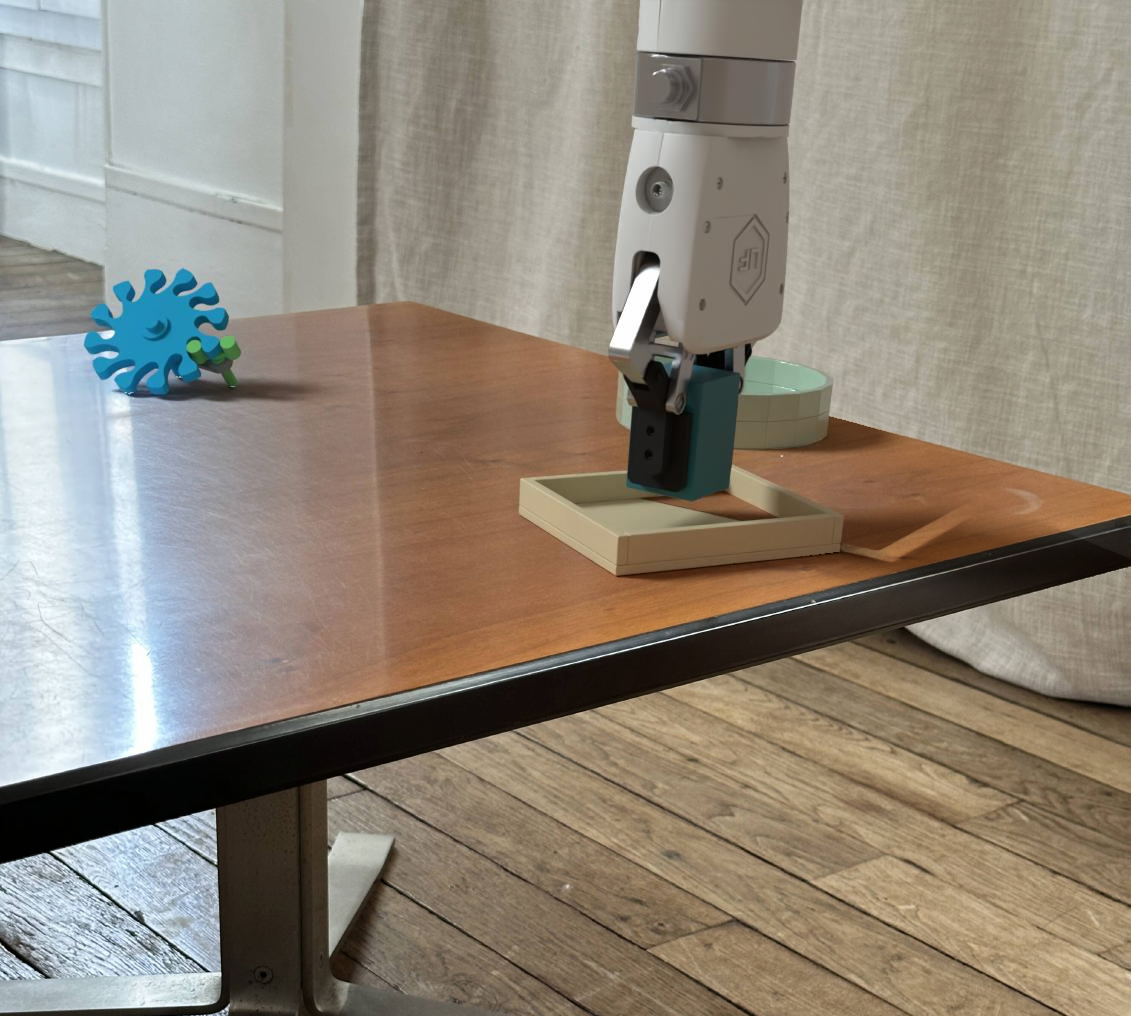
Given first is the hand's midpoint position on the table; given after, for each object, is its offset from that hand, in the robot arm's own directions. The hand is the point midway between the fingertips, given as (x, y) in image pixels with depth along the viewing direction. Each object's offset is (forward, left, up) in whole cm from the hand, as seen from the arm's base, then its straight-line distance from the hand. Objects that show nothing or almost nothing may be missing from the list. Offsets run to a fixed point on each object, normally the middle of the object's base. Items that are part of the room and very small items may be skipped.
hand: (679, 474), depth 83 cm
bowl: (-15, -20, -3) cm, 25 cm away
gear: (+17, -41, -3) cm, 45 cm away
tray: (0, 0, -3) cm, 3 cm away
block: (0, 0, -1) cm, 1 cm away
